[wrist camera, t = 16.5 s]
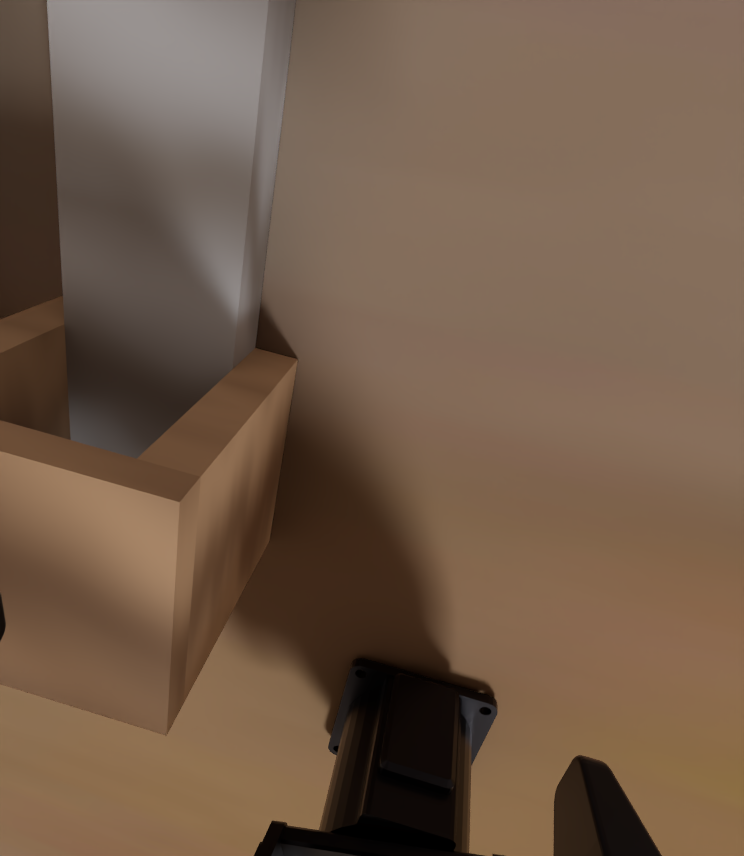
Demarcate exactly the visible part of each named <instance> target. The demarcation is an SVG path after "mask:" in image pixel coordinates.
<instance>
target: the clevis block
mask: <svg viewBox="0 0 744 856" xmlns="http://www.w3.org/2000/svg"><path fill="white" fill-rule="evenodd" d="M295 5H296V0H47V12H48V30H49V49H50V67H51V86H52V104H53V123H54V141H55V160H56V178H57V197H58V215H59V233H60V252H61V270H62V289H63V296H60V297H57V298H55V299H52V300H49V301H47V302H44V303H42V304H39V305H36V306H34V307H31V308H29V309H26V310H23V311H21V312H18V313H16V314H13V315H10V316H8V317H5V318H3V319H0V593H1V596H2V602H3V608H4V614H5V620H6V628H5V632H4V635H3V637H2V639H1V641H0V684H2V685H5V686H8V687H11V688H15V689H18V690H21V691H24V692H27V693H31V694H34V695H37V696H40V697H44V698H47V699H50V700H53V701H57V702H60V703H63V704H66V705H69V706H73V707H76V708H79V709H82V710H86V711H89V712H92V713H95V714H99V715H102V716H105V717H108V718H111V719H115V720H118V721H121V722H124V723H128V724H131V725H134V726H137V727H141V728H144V729H147V730H150V731H153V732H157V733H160V734H163V735H167V734H168V732H169V730H170V728H171V726H172V724H173V722H174V720H175V718H176V717H177V715H178V713H179V711H180V709H181V707H182V705H183V703H184V701H185V700H186V698H187V696H188V694H189V692H190V690H191V688H192V686H193V684H194V683H195V681H196V679H197V677H198V675H199V673H200V671H201V669H202V667H203V666H204V664H205V662H206V660H207V658H208V656H209V654H210V652H211V651H212V649H213V647H214V645H215V643H216V641H217V639H218V637H219V635H220V634H221V632H222V630H223V628H224V626H225V624H226V622H227V620H228V618H229V617H230V615H231V613H232V611H233V609H234V607H235V605H236V603H237V601H238V600H239V598H240V596H241V594H242V592H243V590H244V588H245V586H246V584H247V583H248V581H249V579H250V577H251V575H252V573H253V571H254V569H255V567H256V566H257V564H258V562H259V560H260V558H261V556H262V554H263V552H264V550H265V549H266V547H267V545H268V543H269V541H270V535H271V528H272V522H273V515H274V509H275V503H276V496H277V490H278V484H279V477H280V471H281V465H282V458H283V452H284V445H285V439H286V433H287V426H288V420H289V414H290V407H291V401H292V395H293V388H294V382H295V375H296V369H297V363H298V359H295V358H291V357H287V356H284V355H280V354H276V353H272V352H269V351H265V350H261V349H257V348H255V347H256V338H257V330H258V321H259V312H260V304H261V295H262V287H263V278H264V270H265V261H266V253H267V244H268V236H269V227H270V218H271V210H272V201H273V193H274V184H275V176H276V167H277V159H278V150H279V142H280V133H281V124H282V116H283V107H284V99H285V90H286V82H287V73H288V65H289V56H290V48H291V39H292V30H293V22H294V13H295Z"/></svg>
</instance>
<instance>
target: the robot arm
mask: <svg viewBox="0 0 744 856" xmlns="http://www.w3.org/2000/svg"><path fill="white" fill-rule="evenodd" d="M5 628H6V620H5V614H4V608H3V602H2V596H1V593H0V641H1V639H2V637H3V635H4V632H5ZM362 670H363V671H362ZM496 715H497V701H496V700H495V699H494V698H493V697H491V696H489V695H485V694H482V693H478V692H475V691H472V690H468V689H465V688H461V687H458V686H455V685H451V684H448V683H445V682H441V681H438V680H434V679H431V678H428V677H424V676H421V675H417V674H414V673H411V672H407V671H404V670H401V669H397V668H394V667H390V666H387V665H384V664H380V663H377V662H374V661H370V660H367V659H362V658H359V659H355V660H354V661H353V662H352V664H351V668H350V671H349V675H348V678H347V682H346V685H345V689H344V692H343V696H342V699H341V703H340V706H339V710H338V713H337V717H336V720H335V724H334V727H333V731H332V734H331V738H330V742H329V746H328V749H329V750H330V752H332V753H333V754H335V755H337V757H336V761H335V765H334V769H333V774H332V778H331V782H330V786H329V790H328V794H327V799H326V803H325V807H324V811H323V815H322V820H321V824H320V828H319V830H313V829H307V828H300V827H294V826H287V823H286V822H280V821H272V822H271V824H270V826H269V828H268V831H267V833H266V835H265V837H264V839H263V841H262V842H260V844H259V846H258V848H257V850H256V852H255V854H254V856H483V855H477V854H470V853H469V833H470V790H471V765H472V763H473V761H474V759H475V757H476V755H477V753H478V751H479V749H480V747H481V745H482V743H483V741H484V739H485V737H486V735H487V733H488V731H489V729H490V727H491V725H492V723H493V721H494V719H495V717H496ZM493 856H504V855H497V854H493ZM554 856H662V855H661V854H660V852H659V850H658V849H657V847H656V845H655V843H654V842H653V840H652V838H651V837H650V835H649V833H648V832H647V830H646V828H645V827H644V825H643V823H642V822H641V820H640V818H639V816H638V815H637V813H636V811H635V810H634V808H633V806H632V805H631V803H630V801H629V800H628V798H627V796H626V794H625V793H624V791H623V789H622V788H621V786H620V784H619V783H618V781H617V779H616V778H615V776H614V774H613V772H612V771H611V769H610V768H609V767H608V765H606V764H605V763H604V762H602V761H600V760H596V759H593V758H589V757H586V756H582V755H578V756H576V757H575V758H574V759H573V760H572V762H571V764H570V765H569V767H568V769H567V771H566V772H565V774H564V776H563V777H562V779H561V781H560V782H559V784H558V786H557V789H556V793H555V800H554Z"/></svg>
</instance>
